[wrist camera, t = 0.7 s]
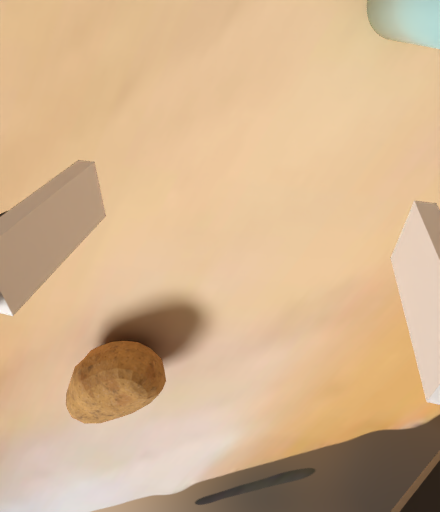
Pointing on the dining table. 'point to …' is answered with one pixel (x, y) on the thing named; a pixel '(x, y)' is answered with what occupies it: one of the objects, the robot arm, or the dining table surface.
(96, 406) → the potato
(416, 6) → the teal bottle
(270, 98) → the dining table surface
